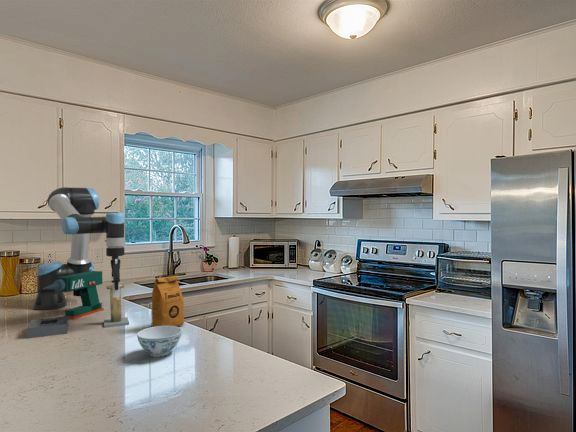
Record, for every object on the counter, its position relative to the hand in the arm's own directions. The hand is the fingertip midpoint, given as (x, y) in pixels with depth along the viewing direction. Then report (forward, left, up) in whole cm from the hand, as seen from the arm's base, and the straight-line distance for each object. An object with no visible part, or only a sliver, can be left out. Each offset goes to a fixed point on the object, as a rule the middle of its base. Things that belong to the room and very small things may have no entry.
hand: (115, 294), depth 178 cm
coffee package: (+17, +20, -13) cm, 30 cm away
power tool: (-20, -18, -13) cm, 30 cm away
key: (0, 0, -12) cm, 12 cm away
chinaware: (+49, +12, -13) cm, 52 cm away
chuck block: (0, -26, -13) cm, 29 cm away
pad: (0, 0, -13) cm, 13 cm away
